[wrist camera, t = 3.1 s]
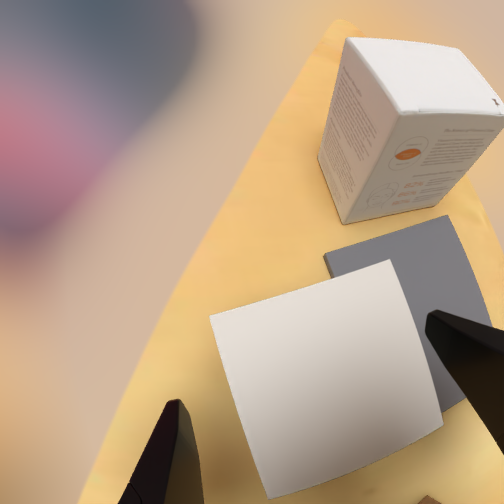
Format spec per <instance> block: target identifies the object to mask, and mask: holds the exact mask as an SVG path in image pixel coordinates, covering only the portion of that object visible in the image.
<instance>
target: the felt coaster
mask: <svg viewBox="0 0 504 504" xmlns="http://www.w3.org/2000/svg"><path fill="white" fill-rule="evenodd" d="M323 257H324V260H325V262H326V265H327V267H328V270H329V273H330V275H331V278H335V277H339V276H342V275H345V274H348V273H351V272H354V271H356V270H359V269H362V268H365V267H368V266H371V265H374V264H377V263H380V262H383V261H385V260H388V259H390V261H391V263H392V265H393V268H394V270H395V273H396V275H397V278H398V280H399V283H400V285H401V288H402V290H403V293H404V296H405V298H406V301H407V304H408V306H409V309H410V312H411V315H412V318H413V320H414V323H415V326H416V329H417V332H418V335H419V338H420V341H421V344H422V347H423V350H424V353H425V357H426V360H427V363H428V366H429V370H430V373H431V377H432V380H433V384H434V387H435V391H436V395H437V399H438V403H439V406H440V410H441V413H442V412H444V411H446V410H447V409H449V408H450V407H452V406H454V405H455V404H457V403H458V402H460V401H461V400H463V399H464V398H466V396H465V395H464V393H463V392H462V390H461V389H460V388H459V386H458V385H457V383H456V382H455V381H454V379H453V378H452V376H451V375H450V374H449V372H448V371H447V370H446V368H445V367H444V365H443V364H442V362H441V360H440V359H439V357H438V355H437V353H436V352H435V350H434V348H433V347H432V345H431V343H430V342H429V340H428V338H427V337H426V334H425V324H426V317H427V314H428V313H429V312H431V311H433V310H436V309H438V310H441V311H444V312H447V313H450V314H454V315H457V316H460V317H463V318H466V319H469V320H472V321H475V322H478V323H481V324H484V325H487V326H490V327H492V324H491V320H490V317H489V314H488V311H487V308H486V305H485V302H484V299H483V297H482V294H481V291H480V288H479V286H478V283H477V280H476V278H475V275H474V273H473V270H472V268H471V265H470V263H469V260H468V258H467V256H466V253H465V251H464V249H463V247H462V244H461V242H460V240H459V238H458V235H457V233H456V231H455V229H454V227H453V225H452V223H451V221H450V219H449V217H448V215H445V216H442V217H439V218H436V219H432V220H429V221H426V222H423V223H420V224H417V225H414V226H411V227H408V228H405V229H402V230H398V231H395V232H392V233H389V234H386V235H383V236H379V237H376V238H373V239H370V240H367V241H363V242H360V243H357V244H354V245H351V246H347V247H344V248H341V249H338V250H334V251H331V252H328V253H325V255H324V256H323Z"/></svg>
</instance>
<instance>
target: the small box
mask: <svg viewBox="0 0 504 504" xmlns="http://www.w3.org/2000/svg"><path fill="white" fill-rule="evenodd" d="M503 128H504V104H503V103H502V101H501V99H500V98H499V97H498V96H497V94H496V93H495V91H494V90H493V89H492V88H491V86H490V85H489V84H488V82H487V81H486V80H485V79H484V78H483V76H482V75H481V74H480V73H479V72H478V70H477V69H476V68H475V67H474V66H473V65H472V63H471V62H470V61H469V60H468V59H467V58H466V57H465V56H464V54H463V53H462V52H461V51H460V50H459V49H457V48H451V47H446V46H440V45H433V44H428V43H420V42H412V41H402V40H391V39H379V38H361V37H347V38H346V39H345V43H344V47H343V52H342V57H341V61H340V66H339V70H338V75H337V79H336V84H335V88H334V92H333V96H332V100H331V104H330V108H329V113H328V117H327V121H326V125H325V129H324V133H323V137H322V141H321V145H320V149H319V153H318V161H319V164H320V166H321V169H322V171H323V174H324V177H325V179H326V182H327V185H328V187H329V190H330V192H331V195H332V198H333V200H334V203H335V206H336V208H337V211H338V214H339V216H340V219H341V222H342V224H344V225H345V224H349V223H354V222H358V221H363V220H368V219H373V218H378V217H382V216H387V215H392V214H397V213H402V212H406V211H411V210H416V209H421V208H426V207H431V206H435V205H436V204H437V203H438V202H439V201H440V200H441V199H442V198H443V197H444V196H445V195H446V194H447V193H448V192H449V191H450V190H451V189H452V188H453V186H454V185H455V184H456V183H457V182H458V181H459V180H460V179H461V178H462V177H463V175H464V174H465V173H466V172H467V171H468V170H469V169H470V167H471V166H472V165H473V164H474V163H475V161H476V160H477V159H478V158H479V157H480V156H481V155H482V153H483V152H484V151H485V150H486V149H487V147H488V146H489V145H490V143H491V142H492V141H493V140H494V139H495V138H496V136H497V135H498V134H499V132H500V131H501V130H502V129H503Z"/></svg>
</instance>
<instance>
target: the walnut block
mask: <svg viewBox="0 0 504 504" xmlns="http://www.w3.org/2000/svg"><path fill="white" fill-rule="evenodd" d="M418 504H441V503H439V502H438V501H436V500H434V499H433V498H431V497H429V496H428V495H427V496H426V497H425V498H423V499H422V500H421V501H420V502H419V503H418Z"/></svg>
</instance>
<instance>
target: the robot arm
mask: <svg viewBox="0 0 504 504" xmlns="http://www.w3.org/2000/svg"><path fill="white" fill-rule="evenodd" d="M425 334H426V337H427V338H428V340H429V342H430V343H431V345H432V347H433V348H434V350H435V352H436V353H437V355H438V357H439V359H440V360H441V362H442V364H443V365H444V367H445V368H446V370H447V371H448V372H449V374H450V375H451V376H452V378H453V379H454V381H455V382H456V383H457V385H458V386H459V388H460V389H461V390H462V392H463V393H464V395H465V396H466V398H467V399H468V401H469V402H470V403H471V405H472V406H473V408H474V409H475V411H476V412H477V414H478V415H479V417H480V418H481V420H482V421H483V423H484V424H485V426H486V427H487V429H488V430H489V432H490V434H491V435H492V437H493V438H494V440H495V441H496V443H497V445H498V446H499V448H500V450H501V451H502V453H503V455H504V331H503V330H500V329H497V328H494V327H490V326H487V325H484V324H481V323H478V322H475V321H472V320H469V319H466V318H463V317H460V316H457V315H454V314H450V313H447V312H444V311H441V310H438V309H436V310H433V311H431V312H429V313H428V314H427V317H426V324H425ZM129 482H130V483H128V484H127V487H126V489H125V491H124V493H123V495H122V497H121V499H120V500H119V502H118V504H204V497H203V489H202V480H201V471H200V461H199V455H198V450H197V445H196V441H195V436H194V432H193V427H192V422H191V418H190V415H189V412H188V411H187V409H186V407H185V406H184V404H183V403H182V401H181V400H180V399H174V400H170V401H168V402H167V403H166V405H165V408H164V410H163V412H162V414H161V416H160V418H159V420H158V422H157V424H156V426H155V428H154V430H153V432H152V434H151V437H150V439H149V441H148V443H147V445H146V447H145V449H144V451H143V453H142V455H141V457H140V459H139V462H138V464H137V466H136V468H135V470H134V472H133V474H132V476H131V478H130V480H129Z"/></svg>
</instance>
